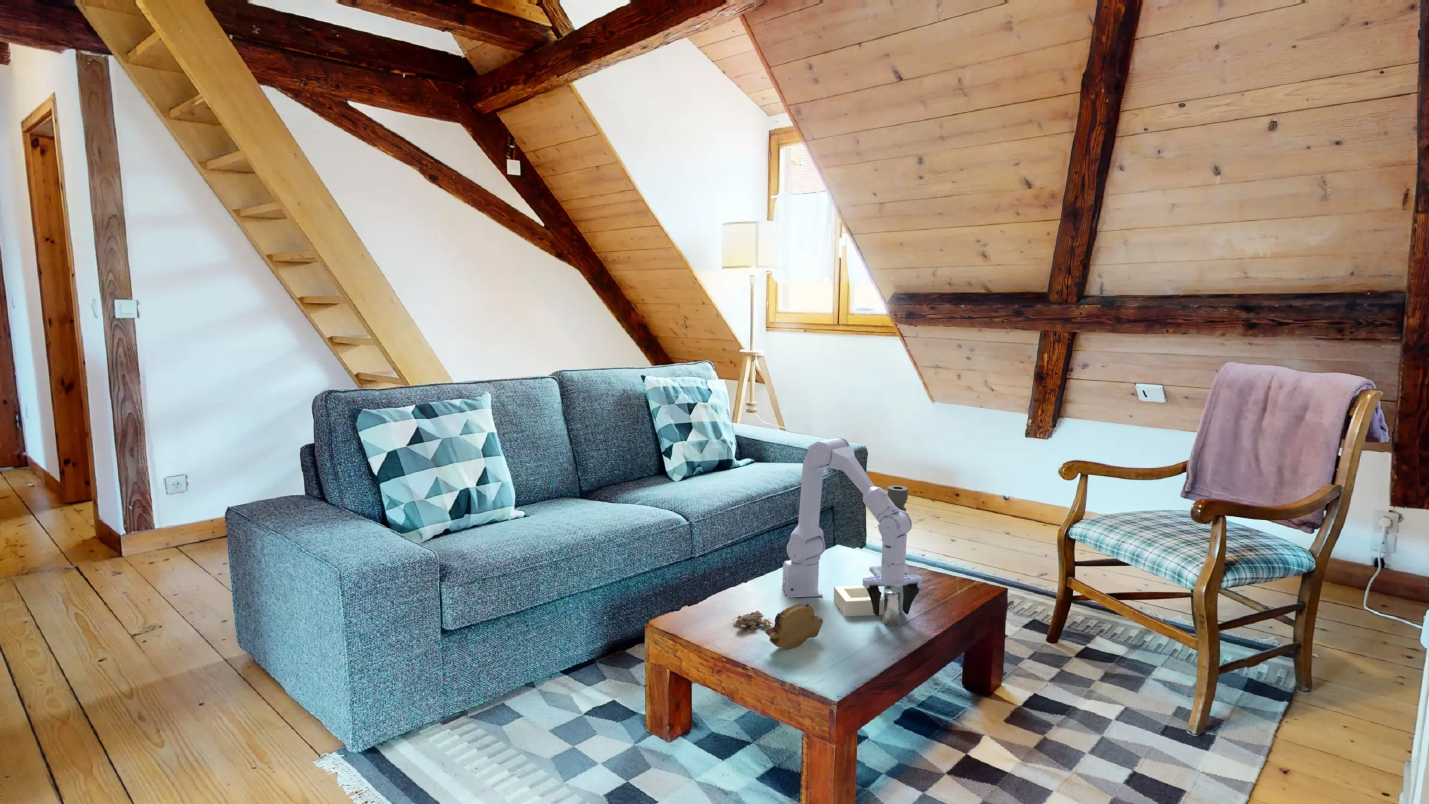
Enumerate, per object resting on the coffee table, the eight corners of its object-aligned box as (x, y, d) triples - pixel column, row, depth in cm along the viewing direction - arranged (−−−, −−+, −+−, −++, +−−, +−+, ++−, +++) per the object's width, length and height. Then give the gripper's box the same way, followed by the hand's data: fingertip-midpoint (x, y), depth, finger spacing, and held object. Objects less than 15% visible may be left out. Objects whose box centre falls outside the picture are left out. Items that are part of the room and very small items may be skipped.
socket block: (845, 616, 203) (845, 601, 203) (833, 600, 213) (834, 586, 213) (883, 614, 205) (883, 599, 204) (869, 599, 215) (870, 584, 214)
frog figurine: (755, 642, 190) (755, 626, 189) (718, 626, 198) (719, 611, 197) (786, 627, 198) (787, 612, 197) (750, 613, 206) (750, 598, 205)
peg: (885, 626, 198) (887, 595, 197) (879, 619, 202) (881, 589, 200) (901, 625, 198) (902, 594, 197) (895, 619, 202) (896, 588, 201)
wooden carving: (809, 632, 194) (811, 592, 193) (824, 638, 191) (825, 598, 189) (761, 652, 183) (762, 610, 182) (775, 659, 180) (776, 617, 179)
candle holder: (905, 576, 232) (909, 491, 228) (883, 574, 233) (886, 490, 229) (904, 568, 238) (908, 486, 234) (883, 566, 239) (886, 484, 235)
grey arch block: (881, 614, 205) (882, 580, 203) (868, 599, 215) (869, 566, 213) (903, 613, 206) (905, 579, 204) (889, 598, 215) (891, 565, 214)
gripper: (870, 567, 193) (868, 621, 195) (928, 565, 195) (925, 618, 197) (860, 557, 199) (858, 609, 202) (916, 555, 202) (913, 607, 204)
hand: (890, 613), depth 200 cm, fingers open, 7 cm apart
